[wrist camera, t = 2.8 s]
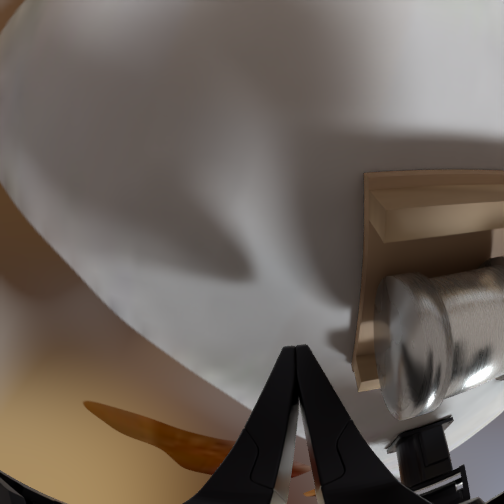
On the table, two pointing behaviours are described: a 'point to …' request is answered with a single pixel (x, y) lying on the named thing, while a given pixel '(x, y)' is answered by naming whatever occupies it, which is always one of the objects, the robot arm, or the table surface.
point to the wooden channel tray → (423, 236)
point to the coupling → (438, 336)
